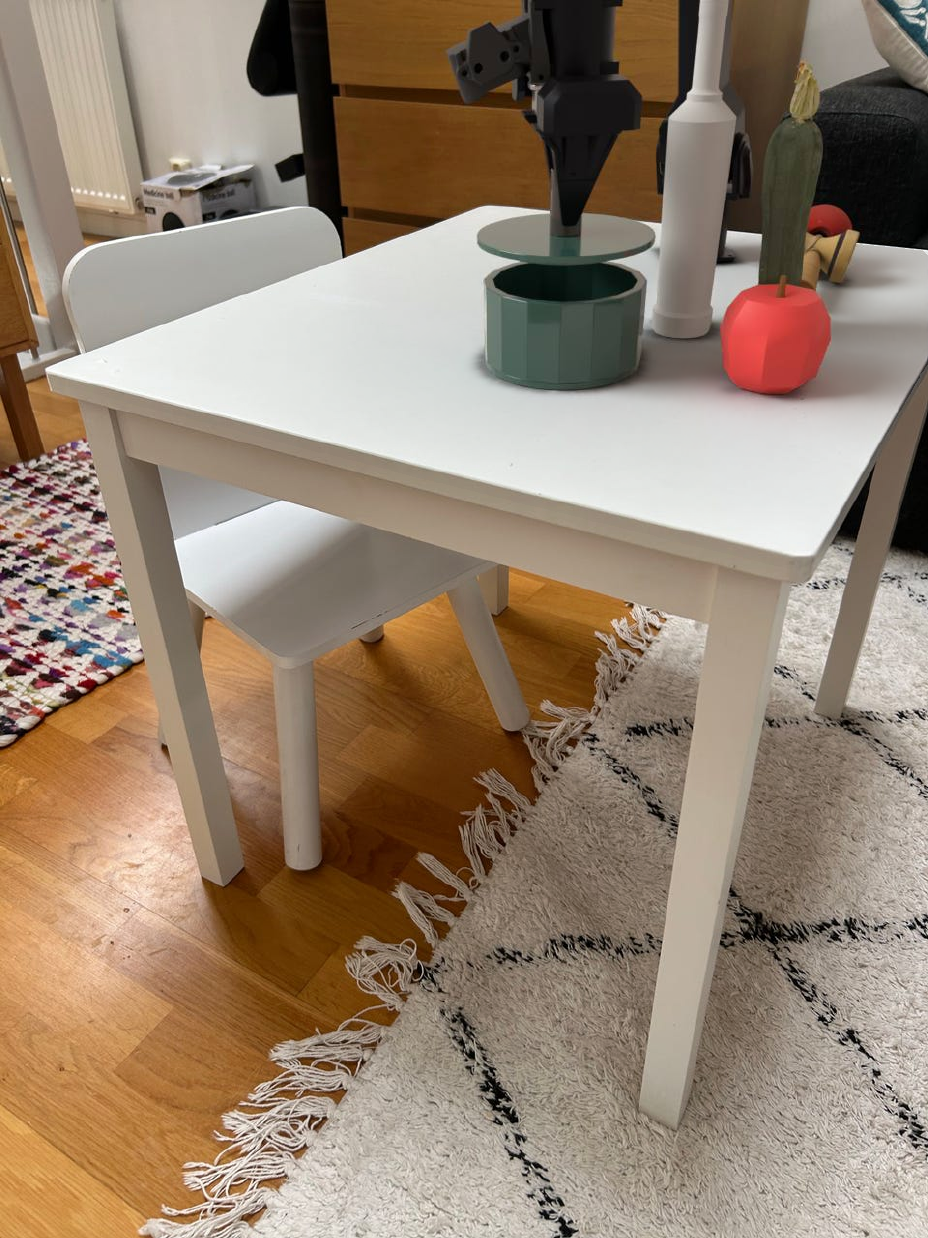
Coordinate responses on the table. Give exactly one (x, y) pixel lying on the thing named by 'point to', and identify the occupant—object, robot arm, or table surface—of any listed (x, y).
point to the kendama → (827, 245)
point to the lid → (565, 237)
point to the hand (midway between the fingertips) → (566, 221)
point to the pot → (564, 324)
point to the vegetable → (790, 185)
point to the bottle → (695, 189)
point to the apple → (774, 337)
